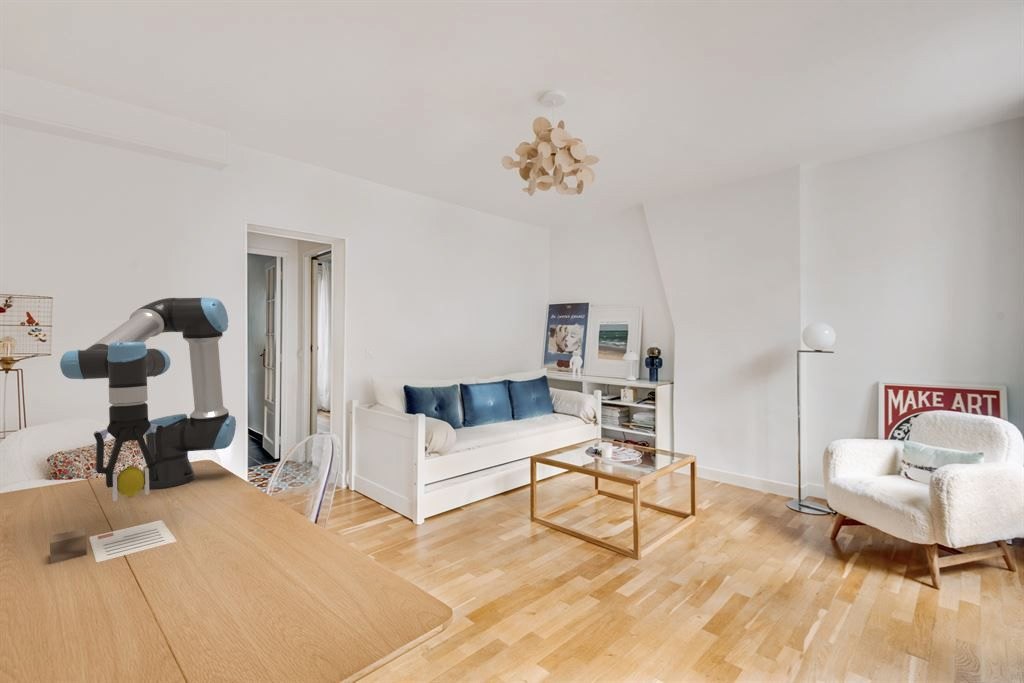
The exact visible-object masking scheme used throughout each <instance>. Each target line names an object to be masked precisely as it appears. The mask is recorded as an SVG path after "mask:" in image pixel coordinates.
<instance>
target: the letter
mask: <svg viewBox="0 0 1024 683" xmlns="http://www.w3.org/2000/svg"><path fill="white" fill-rule="evenodd" d="M89 542H90V546H91V548H92V551H93V555H94V558H95V559H94V560H95V561H96V563H100V562H104V561H108V560H112V559H115V558H119V557H123V556H127V555H130V554H134V553H138V552H142V551H146V550H149V549H153V548H157V547H160V546H164V545H168V544H172V543H176V542H177V539H176V537H175V536H174V535H173V534H172V533H171V531H170V530H169V528H168V527H167V525H166V524H165V522H164V521H163V520H162V519H160V520H156V521H151V522H148V523H144V524H138V525H135V526H131V527H127V528H121V529H118V530H113V531H109V532H106V533H101V534H96V535H93V536H92V535H91V536H89Z"/></svg>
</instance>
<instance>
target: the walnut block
mask: <svg viewBox="0 0 1024 683" xmlns="http://www.w3.org/2000/svg"><path fill="white" fill-rule="evenodd" d="M87 546H88V545H87V533H86V529H85V527H82V528H78V529H73V530H69V531H66V532H60V533H56V534H51V535H49V553H50V554H49V556H50V565H52V564H56V563H60V562H64V561H68V560H72V559H75V558H79V557H84V556H87V554H88V553H87V552H88V551H87V548H88V547H87Z"/></svg>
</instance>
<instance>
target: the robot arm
mask: <svg viewBox="0 0 1024 683" xmlns="http://www.w3.org/2000/svg"><path fill="white" fill-rule="evenodd" d="M226 309H227V308H226V306H225V305H224V303H223V302H222V301H221V300H219V299H218V298H214V297H213V298H211V297H168V298H161V299H158V300H154V301H152V302H149V303H147V304H145V305H143V306H141V307H139V308H138V309H136V310H134V311H133V312H132V313H131V314H130V316H129V319H128V320H126V321H125V322H123V323H122V324H120V325H118V326H117V328H115V329H113V330H112V331H110V332H109V333H108V334H107V335H105V336H104V337H102V338H100V339H99V340H97V341H96V342H95V343H93V344H92V345H90V347H88V348H86V349H84V350H83V349H82V350H80V349H76V350H68V351H66V352H65V353H63V355H62V356H61V359H60V362H59V367H60V371H61V374H62V375H63V376H64V377H65V378H67V379H71V380H96V379H97V380H99V379H108V403H109V404H111V405H110V406H109V407H108V410H109V412H108V415H109V416H108V417H109V424H108V425H107V427H106V428H105V429H102V430H99V431H98V430H95V431H94V432H93V436H94V440H95V441H96V444H95V446H96V448H95V471H96V474H98V475H99V474H103V475H105V485H106V487H107V488H111V498H112V500H113V502H117V501H119V500H118V490H117V477H118V473H117V472H116V471H115V467H116V466H117V465H116V464H117V461H118V459H119V455H120V452H121V449H122V446H123V445H124V444H123V443H127V442H129V441H130V442H132V441H134V442H135V441H136V442H137V444H138V446H139V449H140V452H141V453H142V457H143V458H144V461H145V463H146V466H144V467H142V469H143V470H142V472H143V474H144V478H145V482H144V486H143V488H142V489H143V493H144V495H145V496H147V495H150V490H153V489H154V490H155V489H157V490H158V489H166V488H171V487H177V486H181V485H183V484H184V485H185V484H187V483H189V482H191V481H194V479H195V471H194V468H193V466H192V465H191V462H190V459H189V454H188V453H189V452H197V451H216V450H223V449H227V448H229V447H230V445H231V444H232V442H233V440H234V437H235V433H236V428H237V419H236V417H235V416H234V415H232V414H231V415H230V413H229V409H228V408H227V407H225V406H224V400H223V389H222V388H223V387H222V375H221V374H222V373H221V363H220V362H221V361H220V360H221V359H220V348H219V340H220V339H221V338H222V337H223V336H224V335H223V333H224V332H226V331H227V330H228V329H229V316H228V312H227V310H226ZM162 333H182V339H184V341H185V342H187V343H188V346H189V348H188V350H189V360H190V372H191V382H192V394H193V395H192V397H193V406H194V410H193V411H192V412H191V413H190V414H189V417H188V414H186V413H179V414H173V415H168V416H161V417H158V418H154V419H152V420H149V406H148V403H147V401H148V398H149V397H148V378H151V377H153V378H156V377H157V376H161V375H163V374H164V373H166V372H167V371H168V370H169V368H170V367H171V357H170V356H169V354H167V352H166V351H164V350H162V349H158V348H147V344H146V343H145V342H146V341H148V340H149V339H150V338H153V337H157V336H159V335H160V334H162ZM108 434H110V435H111V437H113V438H114V439H115V441H114V442H113V447H112V450H111V452H110V455H109V459H108V462H107V465H106V467H104V460H105V458H104V457H105V455H104V454H105V439H107V435H108ZM144 436H145V437H144Z"/></svg>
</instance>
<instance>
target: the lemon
mask: <svg viewBox="0 0 1024 683" xmlns="http://www.w3.org/2000/svg"><path fill="white" fill-rule="evenodd" d="M144 482H145V478H144V474H143V470H141V469H140V467H137V466H133V465H128V466H127V467H125V468H123V469H122V470H121V471H120V472H119V473H118V474H117V492H118V493H119V494H120V495H122V496H126V497H128V498H130V499H131V498H134V496H135V495H137V494H138V493H140V492H141V491H142V490H143V489H144V488H143V486H144Z"/></svg>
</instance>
